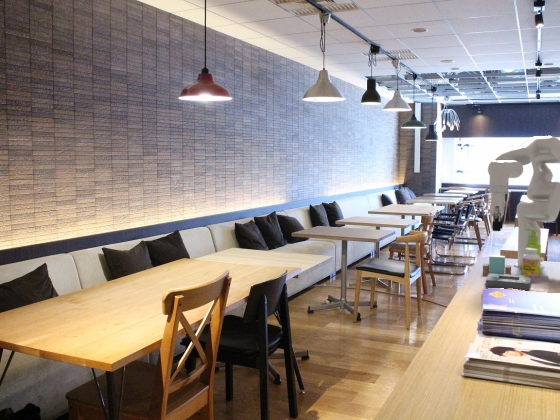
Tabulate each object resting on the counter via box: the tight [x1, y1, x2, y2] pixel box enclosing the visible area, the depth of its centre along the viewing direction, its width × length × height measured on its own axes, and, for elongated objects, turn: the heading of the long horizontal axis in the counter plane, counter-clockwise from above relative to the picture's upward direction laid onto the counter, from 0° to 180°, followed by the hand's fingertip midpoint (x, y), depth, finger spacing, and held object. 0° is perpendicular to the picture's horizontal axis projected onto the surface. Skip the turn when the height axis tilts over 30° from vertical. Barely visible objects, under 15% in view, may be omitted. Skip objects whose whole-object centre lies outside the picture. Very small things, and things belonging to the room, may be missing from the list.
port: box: [485, 273, 532, 291], centre depth 220 cm, size 14×16×3 cm
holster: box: [480, 263, 514, 277], centre depth 236 cm, size 10×12×5 cm
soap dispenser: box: [524, 229, 542, 274], centre depth 240 cm, size 6×7×20 cm
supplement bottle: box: [521, 248, 541, 279], centre depth 231 cm, size 7×7×13 cm
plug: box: [488, 254, 506, 274], centre depth 235 cm, size 4×6×8 cm, turn 63°
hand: (497, 229), depth 234 cm, fingers open, 9 cm apart
